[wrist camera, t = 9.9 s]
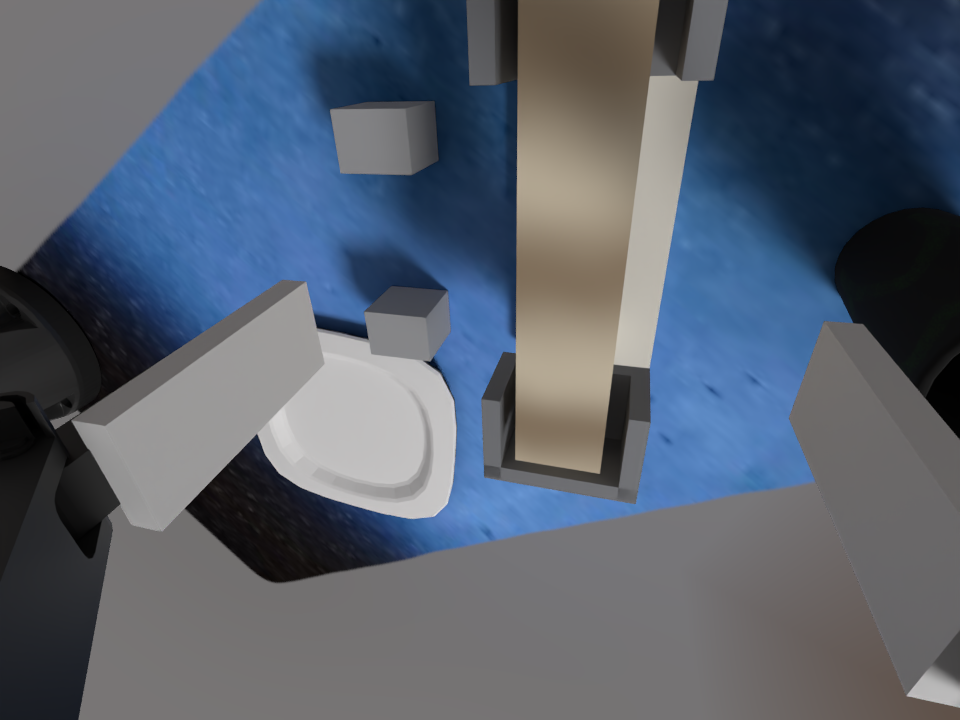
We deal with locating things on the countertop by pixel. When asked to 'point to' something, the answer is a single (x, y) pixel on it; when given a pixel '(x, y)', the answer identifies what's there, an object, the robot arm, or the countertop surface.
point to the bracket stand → (670, 102)
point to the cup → (910, 298)
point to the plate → (368, 431)
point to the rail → (574, 214)
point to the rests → (395, 151)
